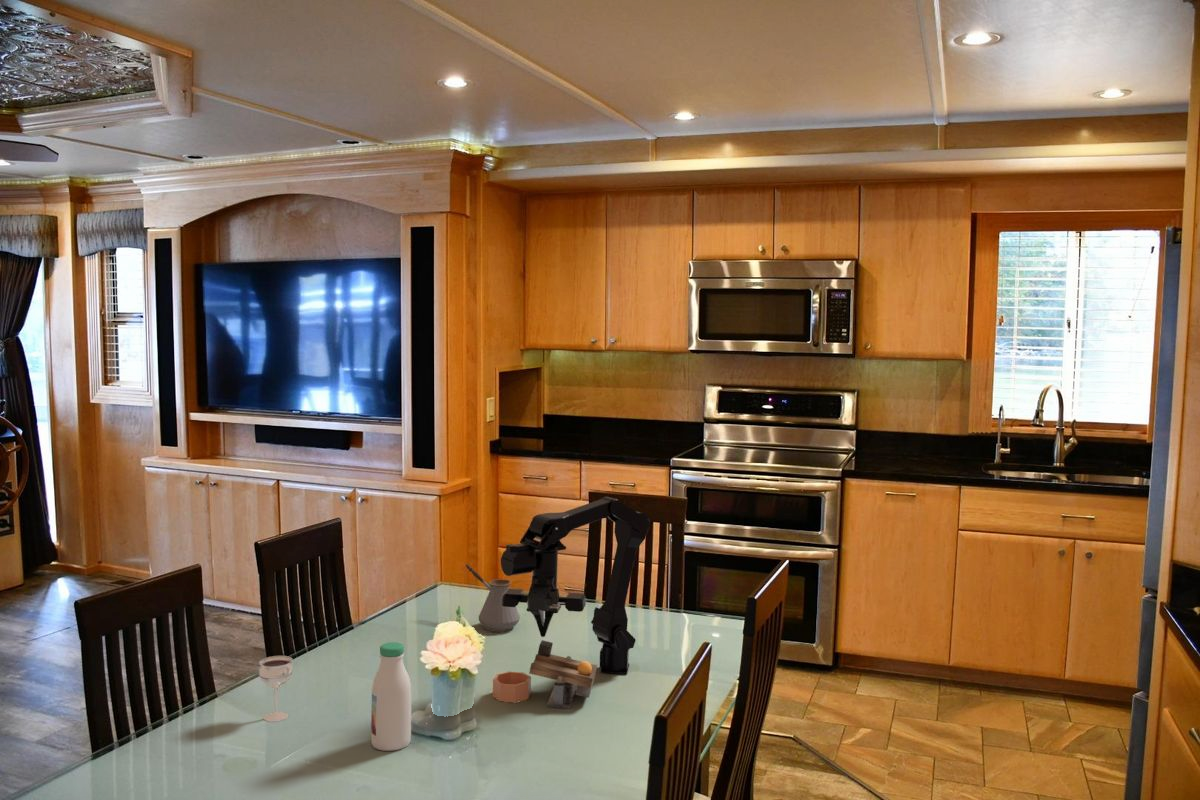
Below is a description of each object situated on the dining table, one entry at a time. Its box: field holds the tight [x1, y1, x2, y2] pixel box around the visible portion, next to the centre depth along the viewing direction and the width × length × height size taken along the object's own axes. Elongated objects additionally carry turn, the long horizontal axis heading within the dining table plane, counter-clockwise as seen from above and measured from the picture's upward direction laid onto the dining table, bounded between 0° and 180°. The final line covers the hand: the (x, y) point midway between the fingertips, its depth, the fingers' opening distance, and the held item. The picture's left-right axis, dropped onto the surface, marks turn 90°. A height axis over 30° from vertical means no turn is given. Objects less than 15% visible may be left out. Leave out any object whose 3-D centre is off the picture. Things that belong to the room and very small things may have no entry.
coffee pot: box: [462, 564, 521, 633], centre depth 258 cm, size 21×12×15 cm, turn 46°
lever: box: [528, 639, 598, 698], centre depth 208 cm, size 14×14×7 cm
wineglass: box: [258, 655, 294, 723], centre depth 193 cm, size 7×7×12 cm
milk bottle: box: [370, 641, 412, 752], centre depth 182 cm, size 8×8×20 cm
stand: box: [546, 681, 577, 710], centre depth 209 cm, size 5×15×5 cm, turn 173°
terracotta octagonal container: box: [492, 671, 532, 703], centre depth 208 cm, size 8×8×4 cm
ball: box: [578, 660, 592, 676], centre depth 205 cm, size 3×3×3 cm
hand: (543, 636), depth 212 cm, fingers closed
